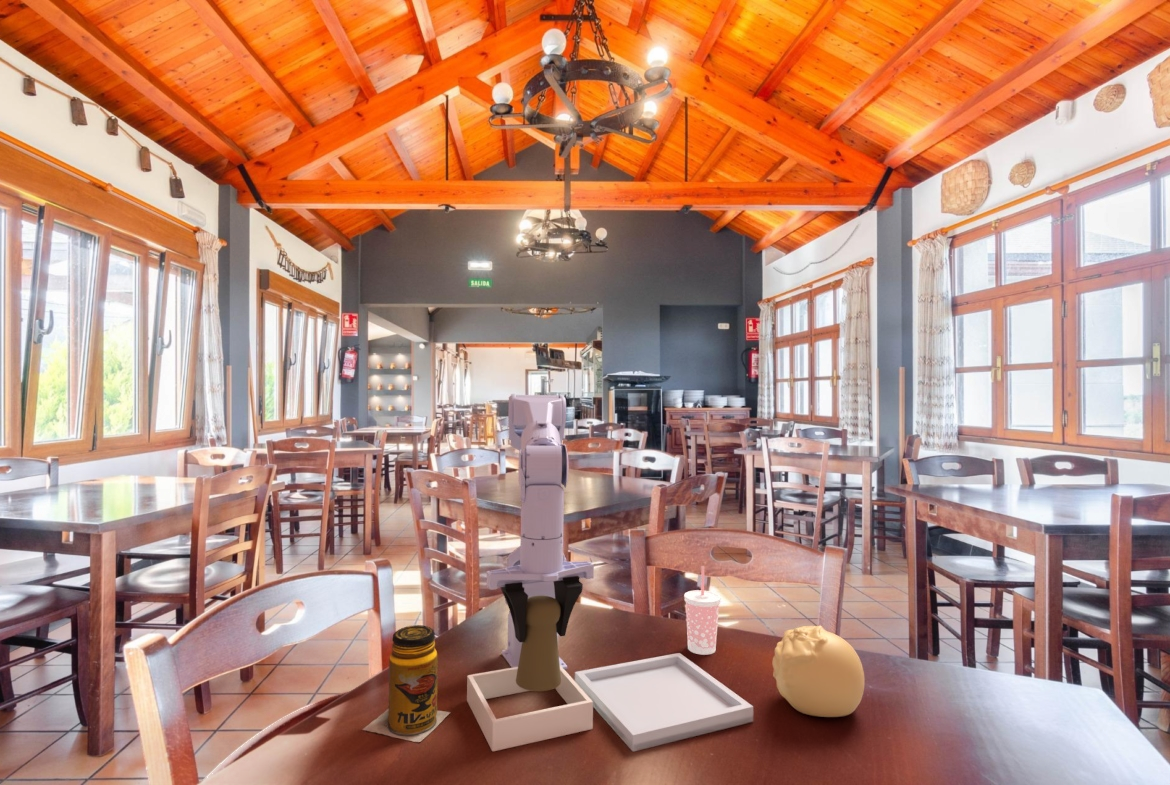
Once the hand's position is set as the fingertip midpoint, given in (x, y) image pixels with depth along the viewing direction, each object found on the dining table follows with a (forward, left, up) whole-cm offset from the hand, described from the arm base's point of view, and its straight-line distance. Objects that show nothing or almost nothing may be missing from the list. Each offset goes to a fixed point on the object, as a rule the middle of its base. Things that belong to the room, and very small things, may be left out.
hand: (540, 636), depth 83 cm
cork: (0, 0, -6) cm, 6 cm away
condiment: (-5, -16, -11) cm, 20 cm away
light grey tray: (+3, +17, -10) cm, 20 cm away
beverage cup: (-10, +33, -11) cm, 35 cm away
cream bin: (-1, -1, -10) cm, 11 cm away
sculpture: (+12, +37, -11) cm, 40 cm away
